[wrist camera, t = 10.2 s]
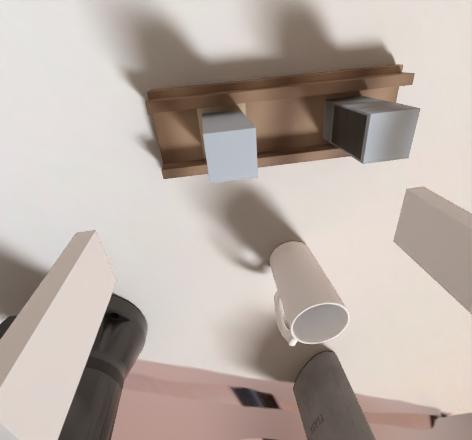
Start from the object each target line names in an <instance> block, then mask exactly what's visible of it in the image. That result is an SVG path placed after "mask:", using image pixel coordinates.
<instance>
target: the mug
mask: <svg viewBox="0 0 472 440" xmlns="http://www.w3.org/2000/svg"><path fill="white" fill-rule="evenodd" d="M270 266H271V270H272V273H273V277H274V280H275V283H276V286H277V289H278V291H277V292H276V293H275V295H274V302H275V315H276V321H277V325H278V328H279V331H280V333H281V334H282V336H283V337H284V338H285V339H286V340H287V342H288V344H289V345H290V346H295V344H296V343H297V341H299V342H301V343H305V344H317V343H322V342H326V341H328V340H331V339H333V338H334V337H336V336H338V335H339V334H340V333H341V332H342V331H343V330H344V329H345V328H346V327H347V325H348V323H349V319H350V315H349V312H348V310H347V308H346V307H345V305H344V303H343V302H342V300H341V298H340V297H339V295H338V294H337V292H336V290H335V289H334V287H333V286H332V284H331V282H330V281H329V279H328V278H327V276H326V274H325V273H324V271H323V270H322V268H321V266H320V265H319V263H318V262H317V260H316V258H315V257H314V255H313V254H312V252H311V251H310V249H309V248H308V247H307V246H306V245H305V244H304V243H301V242H298V241H290V242H286V243H283V244H281V245H279V246H278V247H277V248H276V249H275V250H274V251H273V252H272V254H271V256H270ZM283 309H284V312H285V315H286V319H287V322H288V325H289V328H290V330H289V329H288V328H287V327H286V325H285V323H284V319H283Z"/></svg>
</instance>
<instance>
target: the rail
mask: <svg viewBox="0 0 472 440" xmlns="http://www.w3.org/2000/svg"><path fill="white" fill-rule="evenodd" d="M402 68H403V65H387V66H378V67H368V68H359V69H349V70H340V71H331V72H321V73H312V74H302V75H293V76H283V77H274V78H264V79H255V80H245V81H236V82H226V83H217V84H207V85H198V86H188V87H179V88H170V89H160V90H151V91H148V92H147V93H148V98H149V100H148V101H147V102H146V107H147V111H148V114H150V113H152V115H153V120H154V124H155V128H156V133H157V137H158V141H159V146H160V150H161V154H162V159H163V163H164V164H163V167H162V174H163V179H168V178H177V177H185V176H193V175H201V174H209V173H208V166H207V160H206V153H205V146H204V139H203V127H202V114H204V113H213V112H222V111H231V110H240V109H241V111H242V112H243V113H244V114H245V116H246V117H247V118H248V119H249V120H250V122H251V123H252V124H253V125H254V126H255V128H256V144H257V165H258V167H266V166H274V165H282V164H290V163H298V162H307V161H315V160H323V159H331V158H339V157H347V156H352V157H353V158H355V159H356V160H358V161H360V162H361V163H363V164H365V163H373V162H381V161H389V160H397V159H405V158H408V157H409V153H410V149H411V145H412V141H413V137H414V132H415V128H416V124H417V120H418V116H419V112H420V108H416V107H412V106H407V105H403V104H398V103H396V99H397V94H398V89H399V86H405V85H412V83H413V79H414V74H415V73H402Z"/></svg>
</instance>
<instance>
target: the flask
mask: <svg viewBox="0 0 472 440" xmlns="http://www.w3.org/2000/svg"><path fill="white" fill-rule="evenodd" d="M293 390H294V394H295V398H296V401H297V405H298V408H299V412H300V415H301V419H302V422H303V426H304V429H305V433H306V437H307V440H375V437H374V435H373V433H372V431H371V429H370V426H369V424H368V422H367V420H366V418H365V416H364V413H363V411H362V409H361V407H360V405H359V403H358V401H357V398H356V396H355V394H354V392H353V390H352V388H351V385H350V383H349V381H348V379H347V377H346V375H345V372H344V370H343V368H342V366H341V364H340V362H339V359H338V357H337V355H336V354H335V353H333V352H330V351H325V352H321V353H319V354H317V355H316V356H314V357H313V358H312V359H311V360H310V361H309V362H308V363H307V364H306V366H305V367H304V368H303V369H302V371H301V372H300V374H299V376H298V377H297V379H296V381H295V384H294V387H293Z"/></svg>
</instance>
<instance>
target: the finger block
mask: <svg viewBox="0 0 472 440" xmlns="http://www.w3.org/2000/svg"><path fill="white" fill-rule="evenodd" d="M202 127H203V139H204V146H205V153H206V160H207V166H208V173H209V180H210V184H211V183H219V182H227V181H235V180H243V179H251V178H258V165H257V144H256V128H255V126H254V125H253V124H252V123H251V122H250V120H249V119H248V118H247V117H246V116H245V114H244V113H243V112H242V111H241V109H240V110H231V111H222V112H213V113H204V114H202Z"/></svg>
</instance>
